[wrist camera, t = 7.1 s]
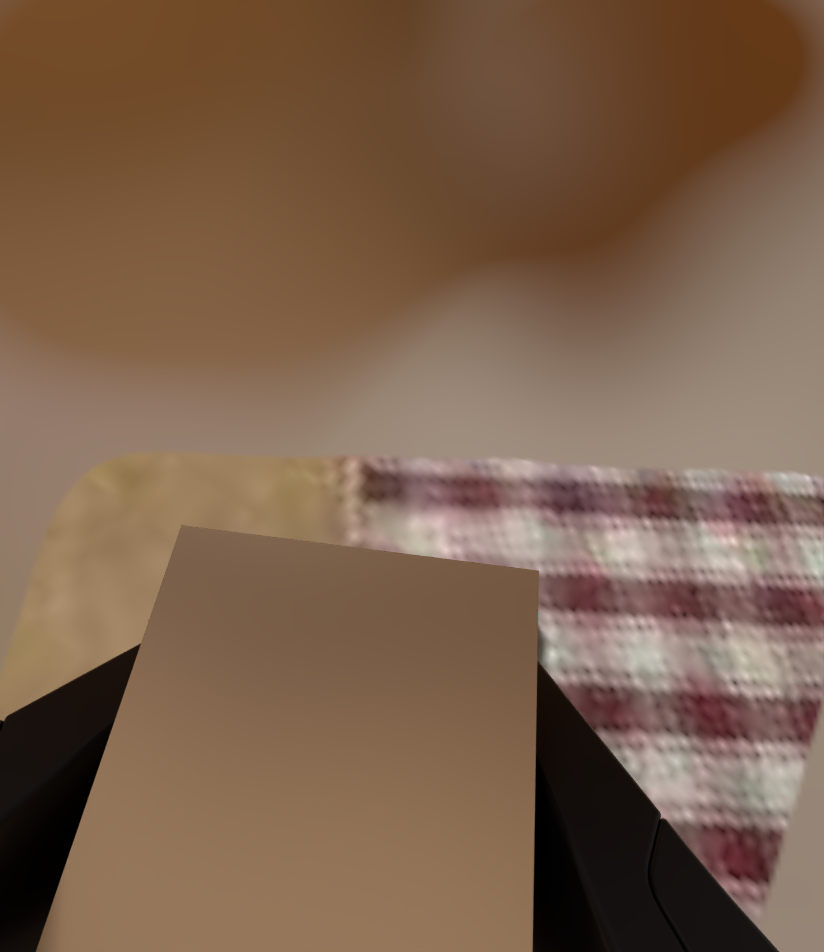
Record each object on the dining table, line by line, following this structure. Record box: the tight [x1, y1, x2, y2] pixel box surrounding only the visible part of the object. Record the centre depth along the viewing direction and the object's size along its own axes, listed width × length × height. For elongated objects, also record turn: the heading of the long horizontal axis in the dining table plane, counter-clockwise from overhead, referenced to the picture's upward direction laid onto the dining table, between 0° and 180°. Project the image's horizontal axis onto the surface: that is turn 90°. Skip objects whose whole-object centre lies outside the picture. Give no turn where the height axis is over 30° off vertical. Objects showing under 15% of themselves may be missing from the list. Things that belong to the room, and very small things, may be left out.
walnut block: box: [36, 525, 539, 952], centre depth 9 cm, size 4×4×10 cm
